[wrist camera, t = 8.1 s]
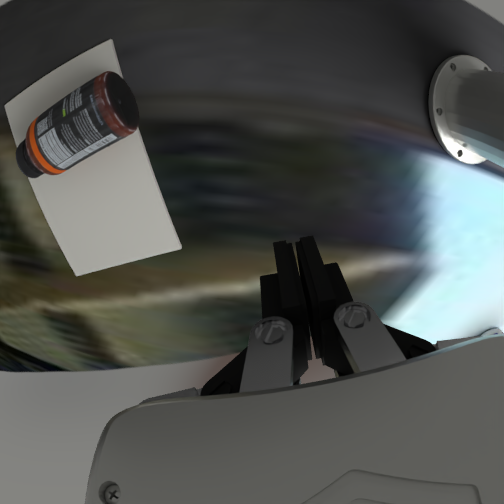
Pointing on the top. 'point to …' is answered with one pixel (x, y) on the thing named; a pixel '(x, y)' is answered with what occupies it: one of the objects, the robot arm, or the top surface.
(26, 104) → the mat
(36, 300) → the top surface
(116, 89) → the supplement bottle
